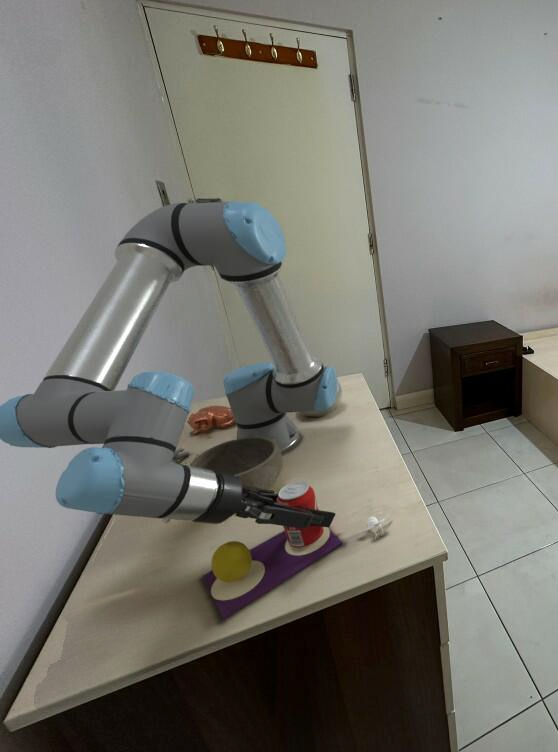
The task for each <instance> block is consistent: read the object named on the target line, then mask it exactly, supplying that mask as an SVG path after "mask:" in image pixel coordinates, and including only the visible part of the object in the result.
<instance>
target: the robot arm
mask: <svg viewBox="0 0 558 752" xmlns="http://www.w3.org/2000/svg"><path fill="white" fill-rule="evenodd" d="M285 242H286V238H285V235H284V233H283V230H282V228H281V226H280V224H279V222H278V221H277V219H276V218H275V216H274V215H273V214H272V213H271V211H269V210H268V209H267V208H265V207H263V206H262V205H261V204H258V203H256V202H247V201H243V202H242V201H238V200H230V201H213V202H190V203H189V202H176V203H170V204H165V205H164V206H161V207H159V208H157V209H155V210H153V211H152V212H150V213H148V214H146V215H145V216H144V217H143V218H141V219H140V220H139V221H138V222H137V223H136V224H134V225H133V226H132V227H131V228H130V229H129V230H128V232H127V233H125V234H124V236H123V237H122V239H121V240H120V241H119V243H118V244H117V246H116V248H115V249H114V257H115V260H116V263H115V264H114V266H113V267H112V268H111V271H110V272H109V274H108V275H107V277H106V278H105V280H104V282H103V283H102V285H101V286H100V288H99V290H98V291H97V293H96V294H95V296H94V297H93V299H92V300H91V302H90V304H89V305H88V307H87V309H86V310H85V312H84V313H83V315H82V317H81V318H80V320H79V321H78V323H77V324H76V326H75V328H74V329H73V330H72V333H71V334H70V335H69V337H68V339H67V340H66V342H65V343H64V345H63V347H62V348H61V350H60V352H59V353H58V354H57V356H56V357H55V360H54V361H53V363H52V364H51V366H50V367H49V368H48V371H47V372H46V374H45V376H44V377H43V378H42V381H41V382H40V383H39V385H38V386H37V388H36V390H35V391H34V393H27V394H25V395H18V396H14V397H12V398H10V399H8V400H7V401H5V402H3V403H2V404H0V440H1V441H2V442H3V443H5V444H8V445H9V446H12V447H17V448H35V449H37V448H43V449H44V448H47V449H53V448H54V449H55V448H58V447H69V446H80V445H82V446H83V445H102V446H101V447H98V446H93V447H87V448H85V449H83V450H81V451H80V452H78V453H77V454H76V455H75V456H74V457H73V458H72V459H71V460H70V461H69V463H68V465H67V467H66V468H65V469H64V470H63V471H62V473H61V474H60V476H59V479H58V481H57V484H56V487H55V500H56V502H57V503H58V504H59V506H61V507H63V508H65V509H70V510H76V511H82V512H90V513H95V514H98V515H115V516H126V517H127V516H128V517H139V518H148V519H149V518H150V519H151V518H152V519H161V522H162V523H163V524H168V523H169V522H170V521H171V520H175V521H183V522H193V523H200V524H210V525H219V524H222V523H224V522H225V521H227V520H229V519H230V518H232V516H234V515H235V516H236V517H238V518H241V519H249V518H250V519H255V521H254V522H255V523H256V524H258V525H272V526H273V525H275V526H282V527H283V526H288V527H295V528H299V529H300V530H302V529H308V527H309V525H311V526H320V527H328V528H329V529H330V527H331V526H332V523H333V521H334V519H335V517H336V515H337V514H336V513H335V512H333V511H328V510H327V511H326V510H321V509H319V510H315V509H309V508H307V509H306V510H304V509H300V508H296V507H292V506H288V505H284V504H279V503H276V500H277V498H278V493H279V491H280V490H281V489H279V490H278V492H277V493H275V492H276V491H274V490H273V489H269V490H266V489H260V488H254V487H248V486H243V485H242V482H241V480H240V478H239V477H237V476H235V475H230V474H225V473H220V472H213V471H211V470H208V469H203V468H198V467H193V466H190V465H187V464H183V463H177V462H176V463H177V464H176V463H173V462H172V459H173V456H174V453H175V450H176V449H177V447H178V445H179V442H180V439H181V436H182V434H183V431H184V428H185V425H186V423H187V421H188V420H187V419H188V418H189V414H190V413H191V407H192V401H193V397H194V394H195V388H194V386H193V384H192V383H191V382H190V381H188V380H186V379H185V378H183V377H181V376H179V375H176V374H172V373H168V372H163V371H154V370H153V371H151V370H149V371H143V372H140V373H139V374H136V375H134V376H133V377H132V378H131V380H130V381H129V383H127V388H126V389H123V390H116V388H117V386H118V384H119V382H120V381H121V379H122V376H123V375H124V374H125V373H124V372H125V371H126V368H127V367H128V365H129V363H130V361H131V359H132V357H133V355H134V353H135V351H136V349H137V348H138V346H139V344H140V342H141V340H142V338H143V337H144V334H145V333H146V330H147V328H148V326H149V325H150V323H151V321H152V319H153V317H154V315H155V313H156V311H157V310H158V308H159V306H160V303H161V302H162V300H163V297H164V296H165V294H166V292H167V290H168V288H169V286H170V284H173V283H176V282H179V280H180V279H182V276H183V274H184V272H185V271H186V270H189V269H190V268H194V267H201V266H203V267H205V266H206V267H208V266H209V267H211V266H213V267H215V269H216V271H217V273H218V276H219V277H220V278H221V280H222V281H224V282H227V283H229V284H231V285H233V286H234V288H235V290H236V292H237V294H238V295H239V296H238V297H240V299H241V301H242V304H243V306H244V308H245V309H246V311H247V314H248V315H249V318H250V319H251V322H252V324H253V325H254V327H255V329H256V331H257V333H258V335H259V337H260V339H261V341H262V343H263V345H264V347H265V349H266V351H267V353H268V355H269V357H270V359H271V361H272V362H268V361H265V362H264V361H263V362H257V363H256V362H255V363H253V364H249V365H245V366H242V367H240V368H237V369H235V370H233V371H231V372H229V373H228V374H227V375H225V377H224V378H223V380H222V384H223V388H224V394H225V395H226V398H227V401H228V404H229V408H231V410H232V413H233V416H234V419H235V422H236V423H235V425H236V427H237V428H236V438H235V440H236V439H240V438H246V437H266V438H270V439H272V440H273V441H275V442H276V444H277V445H278V447H279V449H280V451H281V454H282V455H283V454H285V453H286V452H288V451H290V450H291V449H292V448H294V447H296V445H297V444H298V443H299V441H300V433H299V430H298V429H297V427H296V425H295V424H294V423H293V422H292V420H291V419H290V418H289V416H288V415H287V414H288V413H289V414H291V413H299V412H316V411H322V410H327V409H329V408H331V407H332V405H333V403H334V401H335V398H336V394H337V380H338V376H337V372H336V369H335V368H334V367H332V366H324V363H323V362H322V359H321V358H320V357H319V356H318V355H316V354H313V353H312V352H311V349H310V346H309V344H308V342H307V339H306V337H305V334H304V332H303V330H302V328H301V325H300V323H299V320H298V317H297V315H296V314H295V311H294V308H293V305H292V303H291V301H290V299H289V296H288V293H287V291H286V289H285V287H284V285H283V282H282V279H281V277H280V274H279V273H280V271H281V270H282V268H283V261H284V259H285V258H286V255H287V245H286V244H285ZM182 464H183V465H182Z"/></svg>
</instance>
